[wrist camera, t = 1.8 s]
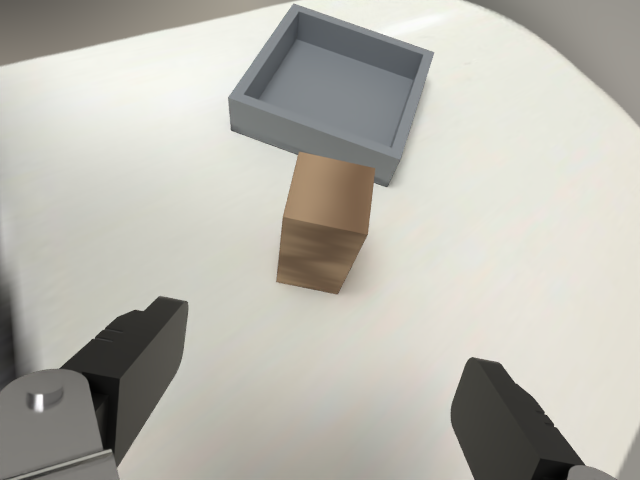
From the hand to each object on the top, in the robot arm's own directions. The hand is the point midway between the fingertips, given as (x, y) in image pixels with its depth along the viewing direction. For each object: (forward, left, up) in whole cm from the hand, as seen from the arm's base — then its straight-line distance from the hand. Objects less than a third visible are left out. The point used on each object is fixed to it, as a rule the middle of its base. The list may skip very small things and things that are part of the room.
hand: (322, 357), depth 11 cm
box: (-6, +29, -18) cm, 35 cm away
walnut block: (-2, +11, -18) cm, 22 cm away
